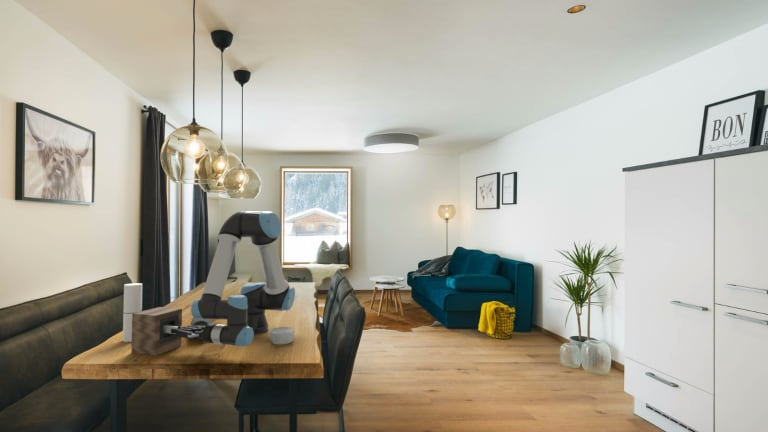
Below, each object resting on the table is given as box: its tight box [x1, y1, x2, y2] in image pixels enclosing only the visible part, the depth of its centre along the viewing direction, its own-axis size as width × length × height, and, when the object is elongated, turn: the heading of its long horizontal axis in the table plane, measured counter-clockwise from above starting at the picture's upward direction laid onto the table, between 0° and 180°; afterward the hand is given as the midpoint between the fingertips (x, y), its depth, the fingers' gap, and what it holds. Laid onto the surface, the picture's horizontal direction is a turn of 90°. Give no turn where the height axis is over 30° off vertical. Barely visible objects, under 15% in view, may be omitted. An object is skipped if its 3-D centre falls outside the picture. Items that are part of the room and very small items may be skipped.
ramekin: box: [268, 326, 296, 345], centre depth 187 cm, size 11×11×5 cm
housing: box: [131, 306, 183, 357], centre depth 174 cm, size 12×14×16 cm
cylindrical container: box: [122, 282, 143, 343], centre depth 188 cm, size 7×7×25 cm
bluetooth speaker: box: [190, 316, 213, 326], centre depth 196 cm, size 23×9×10 cm, turn 22°
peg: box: [164, 323, 172, 335], centre depth 174 cm, size 12×5×5 cm, turn 74°
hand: (167, 329), depth 172 cm, fingers closed
